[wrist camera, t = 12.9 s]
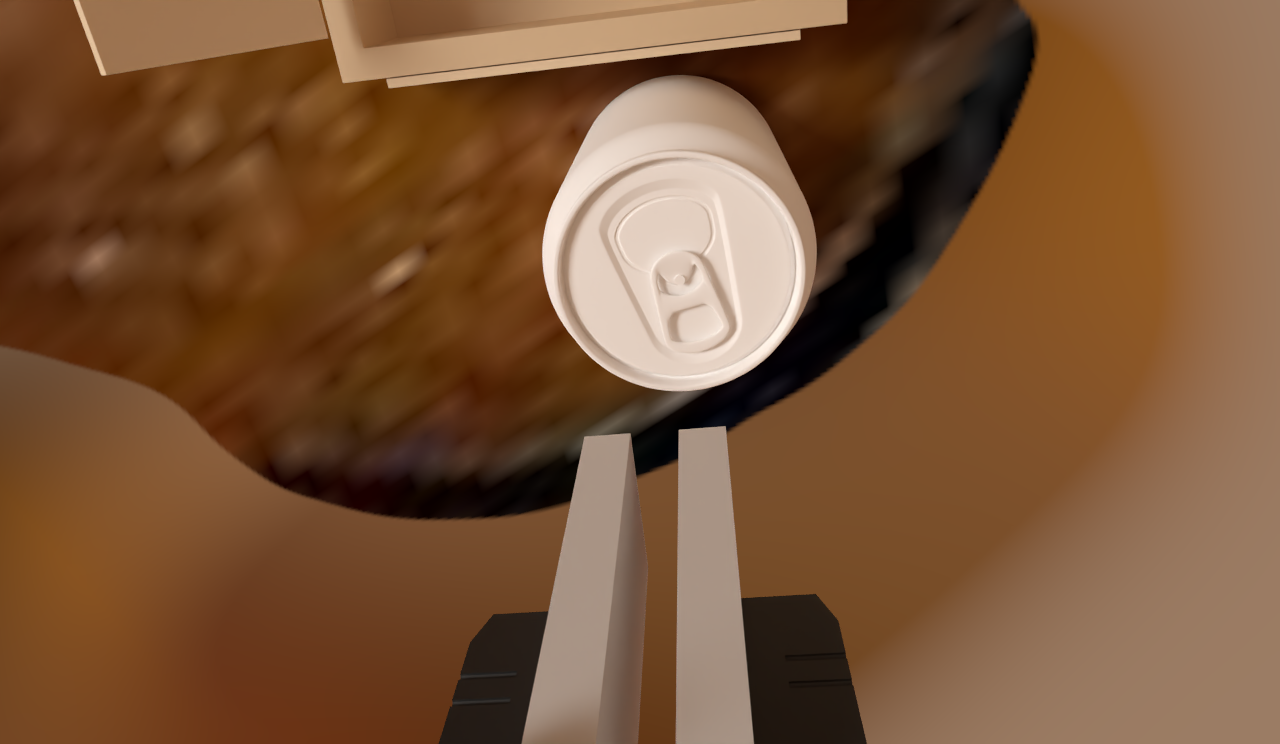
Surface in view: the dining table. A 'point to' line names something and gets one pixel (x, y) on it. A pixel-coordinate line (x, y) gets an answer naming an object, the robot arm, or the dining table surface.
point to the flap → (192, 29)
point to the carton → (548, 33)
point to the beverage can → (679, 237)
